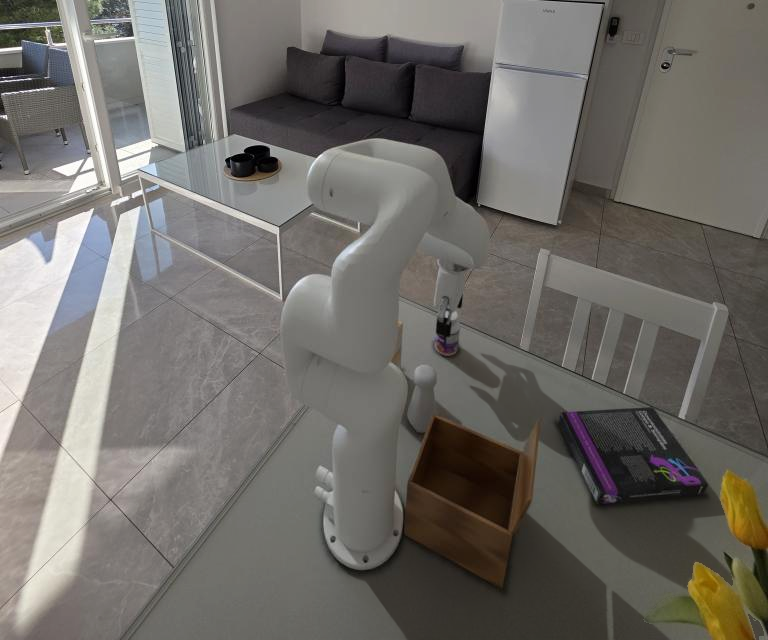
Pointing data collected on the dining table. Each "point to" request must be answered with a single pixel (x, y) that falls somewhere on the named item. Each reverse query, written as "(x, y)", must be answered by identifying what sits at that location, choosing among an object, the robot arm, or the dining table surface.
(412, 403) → the salt shaker
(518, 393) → the dining table surface
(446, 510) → the wooden storage box
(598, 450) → the box
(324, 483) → the robot arm
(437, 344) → the pill bottle
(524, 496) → the flap
